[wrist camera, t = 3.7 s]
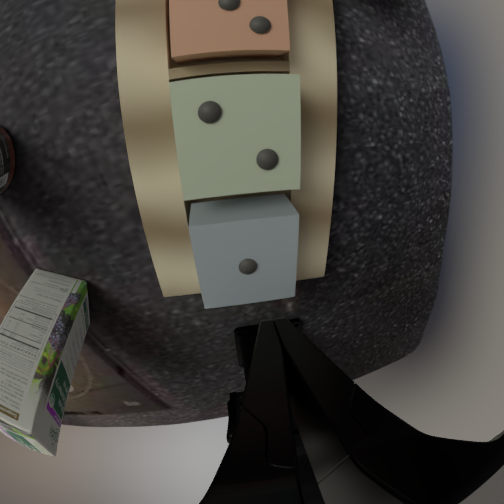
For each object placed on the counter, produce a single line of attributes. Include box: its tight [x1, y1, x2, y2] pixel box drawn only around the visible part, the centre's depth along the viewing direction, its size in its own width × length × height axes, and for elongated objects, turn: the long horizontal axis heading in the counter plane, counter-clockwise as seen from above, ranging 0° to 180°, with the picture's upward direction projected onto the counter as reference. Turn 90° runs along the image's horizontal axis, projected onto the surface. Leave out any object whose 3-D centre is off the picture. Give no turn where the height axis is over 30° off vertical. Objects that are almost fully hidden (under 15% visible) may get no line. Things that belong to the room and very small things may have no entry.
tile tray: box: [115, 0, 337, 297], centre depth 15 cm, size 22×12×2 cm, turn 2°
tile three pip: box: [169, 0, 290, 64], centre depth 10 cm, size 6×6×3 cm
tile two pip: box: [169, 74, 301, 201], centre depth 12 cm, size 6×6×3 cm
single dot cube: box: [188, 194, 299, 309], centre depth 16 cm, size 6×6×3 cm
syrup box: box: [0, 269, 90, 456], centre depth 14 cm, size 6×6×14 cm
